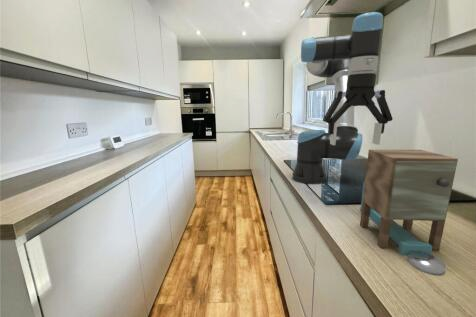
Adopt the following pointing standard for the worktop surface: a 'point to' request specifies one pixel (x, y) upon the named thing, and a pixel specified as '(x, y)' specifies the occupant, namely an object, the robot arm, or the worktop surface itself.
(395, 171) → the cabinet
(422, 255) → the silver flat disc
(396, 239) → the teal stepped block
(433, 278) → the worktop surface
